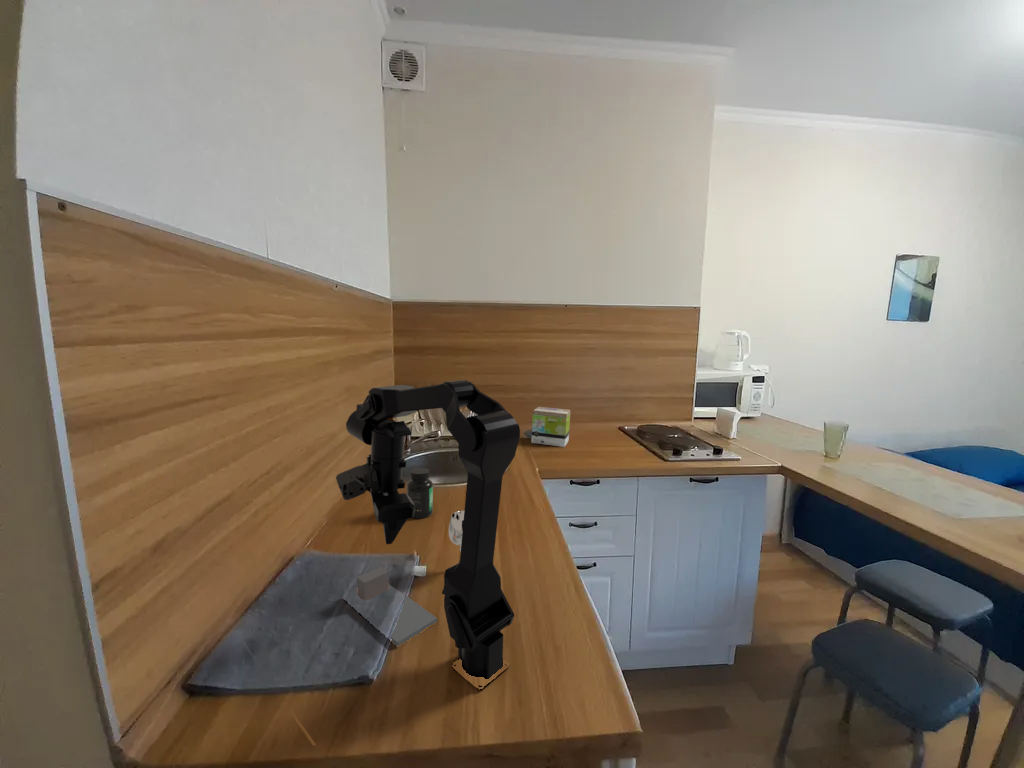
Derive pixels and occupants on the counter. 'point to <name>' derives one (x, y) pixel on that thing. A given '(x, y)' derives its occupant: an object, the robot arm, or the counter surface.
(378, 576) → the stub
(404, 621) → the panel
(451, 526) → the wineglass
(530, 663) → the counter surface
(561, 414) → the tea box
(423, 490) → the supplement bottle
